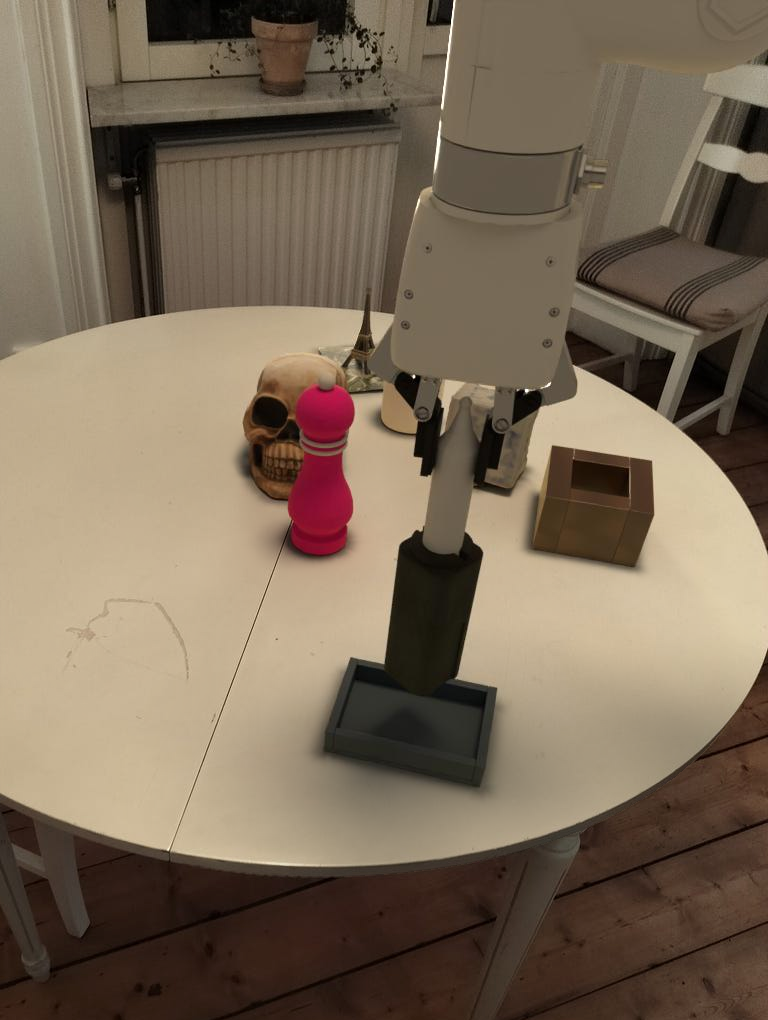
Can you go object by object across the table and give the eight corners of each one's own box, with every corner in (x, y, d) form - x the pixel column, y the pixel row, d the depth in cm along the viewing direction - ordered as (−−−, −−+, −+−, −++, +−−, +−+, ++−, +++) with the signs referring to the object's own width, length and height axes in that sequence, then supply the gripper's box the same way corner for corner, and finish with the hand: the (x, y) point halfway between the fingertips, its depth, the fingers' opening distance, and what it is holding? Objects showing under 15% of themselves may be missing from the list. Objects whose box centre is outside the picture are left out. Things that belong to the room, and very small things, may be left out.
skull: (276, 505, 102) (274, 395, 94) (216, 451, 114) (210, 350, 106) (387, 477, 108) (394, 372, 100) (318, 429, 120) (320, 332, 112)
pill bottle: (448, 416, 119) (465, 308, 108) (423, 441, 114) (438, 330, 103) (396, 401, 122) (408, 295, 111) (370, 425, 117) (379, 315, 106)
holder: (634, 511, 102) (652, 460, 98) (635, 567, 95) (654, 514, 90) (539, 495, 105) (552, 444, 100) (531, 548, 97) (545, 496, 92)
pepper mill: (278, 527, 99) (279, 362, 85) (335, 515, 101) (346, 352, 87) (300, 564, 94) (306, 395, 80) (361, 550, 96) (376, 383, 82)
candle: (422, 701, 70) (470, 425, 52) (378, 666, 72) (410, 393, 55) (464, 672, 72) (523, 399, 55) (419, 640, 75) (463, 370, 58)
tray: (492, 706, 79) (497, 687, 77) (480, 787, 72) (485, 768, 71) (348, 675, 82) (350, 656, 80) (323, 750, 75) (324, 731, 73)
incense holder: (527, 465, 110) (545, 389, 103) (510, 498, 104) (528, 420, 97) (454, 447, 113) (466, 372, 106) (433, 477, 107) (445, 401, 100)
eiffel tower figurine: (316, 350, 133) (320, 261, 124) (379, 346, 135) (387, 258, 126) (336, 395, 123) (341, 302, 114) (405, 391, 124) (415, 298, 115)
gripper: (660, 170, 47) (578, 462, 60) (370, 144, 50) (350, 426, 63) (664, 211, 42) (574, 522, 55) (339, 180, 45) (325, 480, 58)
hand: (454, 468), depth 59 cm, fingers closed on candle, 3 cm apart
